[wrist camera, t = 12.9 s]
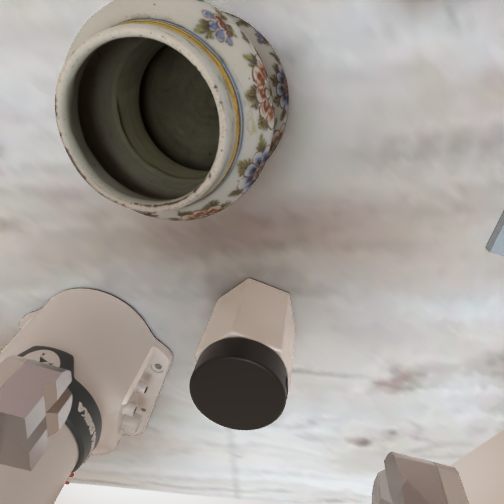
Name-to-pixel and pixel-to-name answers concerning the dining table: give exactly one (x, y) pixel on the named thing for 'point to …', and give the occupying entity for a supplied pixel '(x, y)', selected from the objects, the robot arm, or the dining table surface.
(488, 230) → the dining table surface
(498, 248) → the cradle stand
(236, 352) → the jar
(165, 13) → the apothecary jar
